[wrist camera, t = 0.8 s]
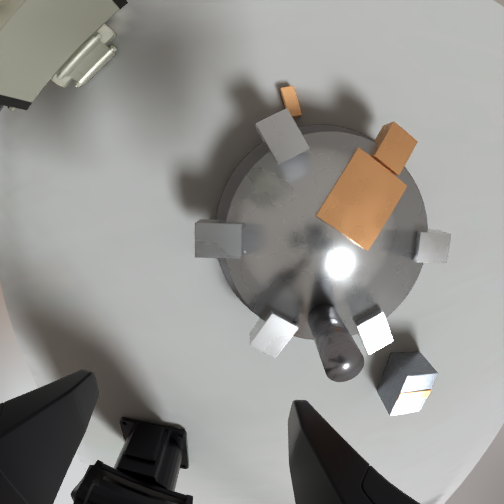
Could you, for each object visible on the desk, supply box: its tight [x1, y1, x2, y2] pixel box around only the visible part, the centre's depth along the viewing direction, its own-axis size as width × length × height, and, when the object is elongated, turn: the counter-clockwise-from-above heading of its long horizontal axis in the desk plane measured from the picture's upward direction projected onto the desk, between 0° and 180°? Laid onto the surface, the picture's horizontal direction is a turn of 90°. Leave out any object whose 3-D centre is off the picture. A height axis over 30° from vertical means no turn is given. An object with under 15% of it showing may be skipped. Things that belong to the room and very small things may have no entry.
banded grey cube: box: [377, 352, 438, 416], centre depth 20 cm, size 4×3×4 cm
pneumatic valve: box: [0, 0, 128, 111], centre depth 10 cm, size 6×12×12 cm, turn 131°
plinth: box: [216, 86, 374, 315], centre depth 18 cm, size 16×14×1 cm
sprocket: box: [195, 108, 451, 382], centre depth 14 cm, size 14×15×7 cm
